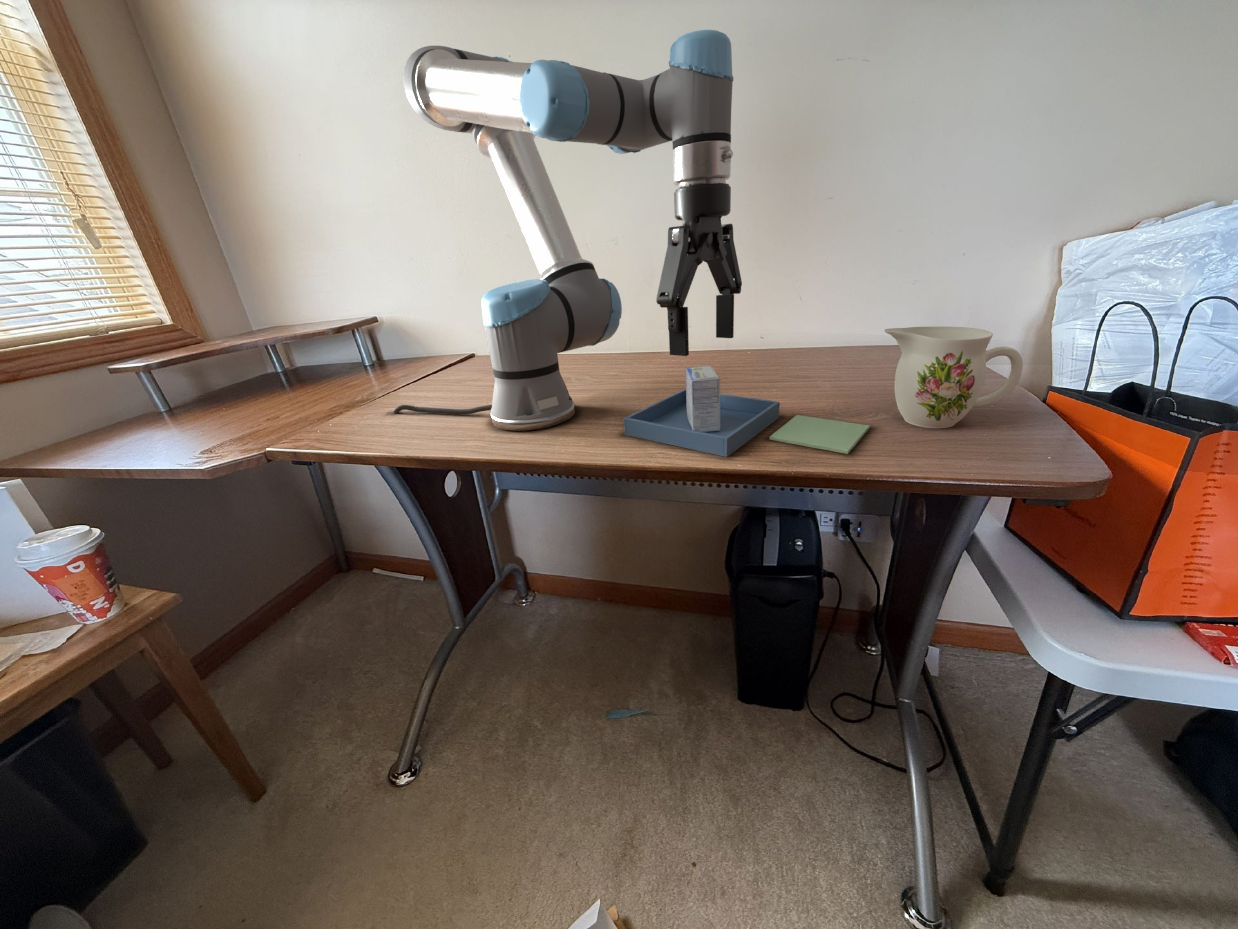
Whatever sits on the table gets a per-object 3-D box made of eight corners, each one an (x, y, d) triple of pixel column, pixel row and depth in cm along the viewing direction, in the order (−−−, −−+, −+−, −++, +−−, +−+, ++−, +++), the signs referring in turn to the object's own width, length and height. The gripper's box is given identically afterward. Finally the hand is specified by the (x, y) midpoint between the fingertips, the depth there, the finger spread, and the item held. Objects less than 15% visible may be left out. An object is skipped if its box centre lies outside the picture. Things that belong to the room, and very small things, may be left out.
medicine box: (720, 432, 74) (721, 377, 70) (691, 434, 74) (691, 379, 71) (712, 415, 81) (712, 365, 78) (686, 417, 81) (685, 367, 78)
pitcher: (1023, 436, 65) (1054, 333, 59) (877, 432, 70) (892, 337, 64) (991, 410, 75) (1015, 319, 69) (864, 408, 80) (877, 323, 74)
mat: (769, 439, 71) (769, 436, 70) (796, 417, 78) (796, 414, 78) (847, 454, 64) (848, 450, 64) (869, 428, 72) (869, 425, 71)
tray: (624, 434, 77) (623, 418, 76) (684, 403, 90) (684, 388, 88) (727, 457, 66) (727, 438, 65) (778, 417, 79) (780, 401, 78)
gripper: (674, 175, 53) (680, 365, 61) (767, 184, 70) (761, 332, 79) (622, 185, 57) (634, 361, 66) (721, 191, 74) (720, 330, 83)
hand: (703, 346), depth 72 cm, fingers open, 13 cm apart
